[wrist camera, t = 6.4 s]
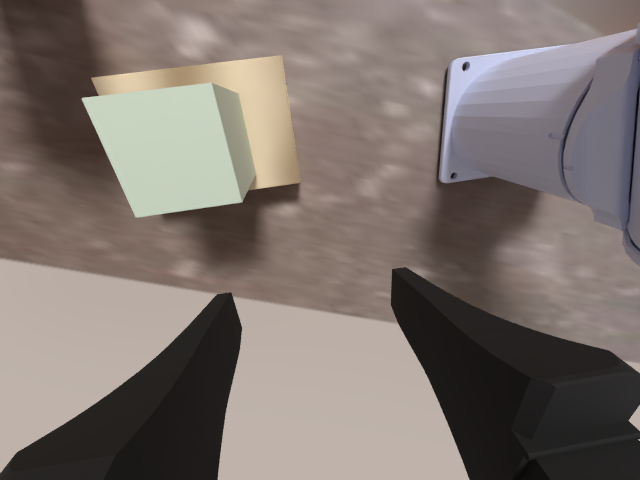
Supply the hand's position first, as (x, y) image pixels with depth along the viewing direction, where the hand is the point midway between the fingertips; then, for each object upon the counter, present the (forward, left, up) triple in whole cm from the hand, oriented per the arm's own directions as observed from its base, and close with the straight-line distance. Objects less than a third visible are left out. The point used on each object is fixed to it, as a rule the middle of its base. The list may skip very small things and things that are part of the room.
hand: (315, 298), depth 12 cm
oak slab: (+5, -7, -10) cm, 13 cm away
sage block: (+5, -7, -8) cm, 11 cm away
